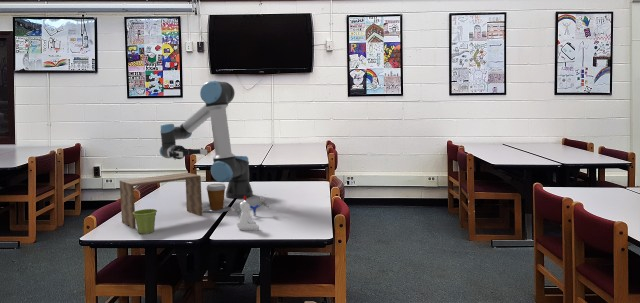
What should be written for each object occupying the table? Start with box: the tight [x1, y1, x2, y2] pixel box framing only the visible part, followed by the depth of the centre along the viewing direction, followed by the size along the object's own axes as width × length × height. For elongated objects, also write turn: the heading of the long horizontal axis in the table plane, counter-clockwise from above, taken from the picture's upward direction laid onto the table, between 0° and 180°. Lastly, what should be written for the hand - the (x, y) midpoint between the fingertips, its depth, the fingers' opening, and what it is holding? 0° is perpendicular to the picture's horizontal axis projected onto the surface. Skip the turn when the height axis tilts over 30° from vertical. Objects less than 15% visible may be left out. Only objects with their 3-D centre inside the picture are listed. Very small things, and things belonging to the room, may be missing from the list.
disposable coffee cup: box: [205, 183, 227, 210], centre depth 229 cm, size 10×10×12 cm
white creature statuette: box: [236, 199, 260, 231], centre depth 191 cm, size 10×9×12 cm
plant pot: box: [133, 208, 158, 235], centre depth 189 cm, size 9×9×9 cm
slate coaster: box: [202, 205, 232, 214], centre depth 229 cm, size 14×14×1 cm
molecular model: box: [230, 195, 270, 220], centre depth 213 cm, size 18×8×10 cm, turn 110°
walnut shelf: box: [119, 172, 203, 229], centre depth 211 cm, size 14×32×19 cm, turn 132°
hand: (194, 153), depth 238 cm, fingers open, 13 cm apart
